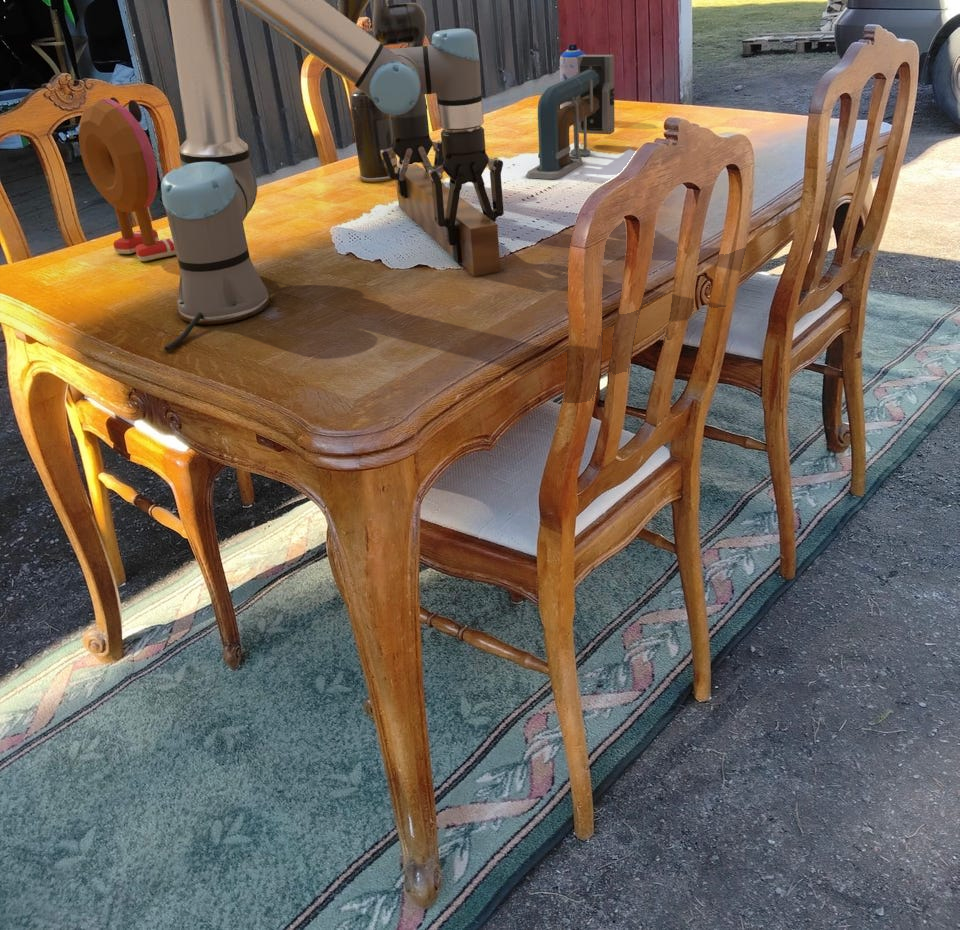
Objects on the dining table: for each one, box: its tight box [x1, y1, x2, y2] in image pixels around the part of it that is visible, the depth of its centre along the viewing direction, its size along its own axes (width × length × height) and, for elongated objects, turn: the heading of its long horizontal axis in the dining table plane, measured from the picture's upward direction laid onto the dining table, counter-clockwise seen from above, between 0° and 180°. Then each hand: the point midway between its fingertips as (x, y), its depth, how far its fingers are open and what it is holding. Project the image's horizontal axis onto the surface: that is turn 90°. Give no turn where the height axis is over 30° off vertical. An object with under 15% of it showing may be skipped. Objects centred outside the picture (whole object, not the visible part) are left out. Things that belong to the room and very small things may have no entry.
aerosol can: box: [559, 43, 586, 109], centre depth 273 cm, size 8×8×20 cm
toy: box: [78, 96, 177, 262], centre depth 190 cm, size 21×10×30 cm, turn 47°
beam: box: [394, 163, 501, 277], centre depth 191 cm, size 51×5×9 cm, turn 19°
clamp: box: [525, 54, 615, 180], centre depth 232 cm, size 35×9×21 cm, turn 151°
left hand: (472, 258), depth 178 cm, fingers closed on beam, 5 cm apart
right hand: (417, 195), depth 205 cm, fingers closed on beam, 5 cm apart
